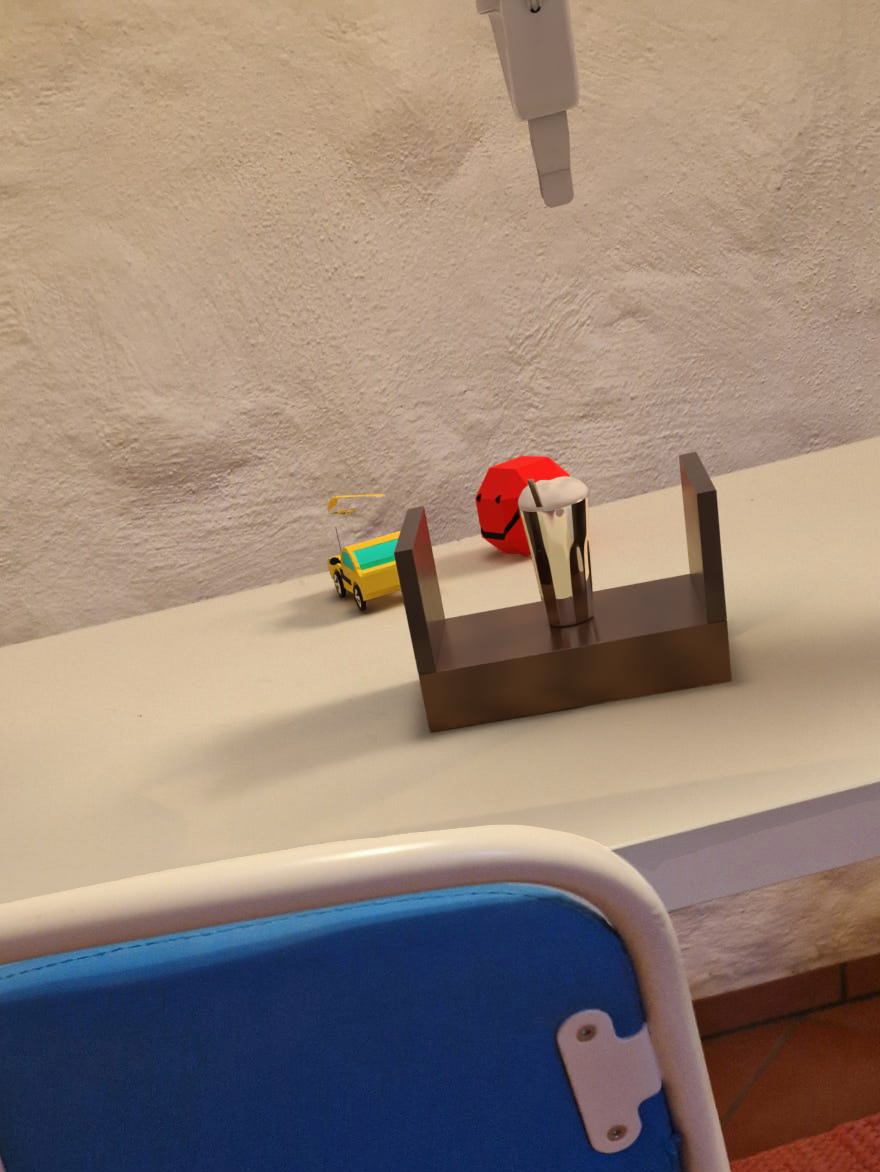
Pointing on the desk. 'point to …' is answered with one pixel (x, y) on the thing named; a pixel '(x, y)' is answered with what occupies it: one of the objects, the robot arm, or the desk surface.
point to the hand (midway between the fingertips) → (557, 202)
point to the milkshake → (560, 547)
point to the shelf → (570, 632)
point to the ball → (510, 500)
